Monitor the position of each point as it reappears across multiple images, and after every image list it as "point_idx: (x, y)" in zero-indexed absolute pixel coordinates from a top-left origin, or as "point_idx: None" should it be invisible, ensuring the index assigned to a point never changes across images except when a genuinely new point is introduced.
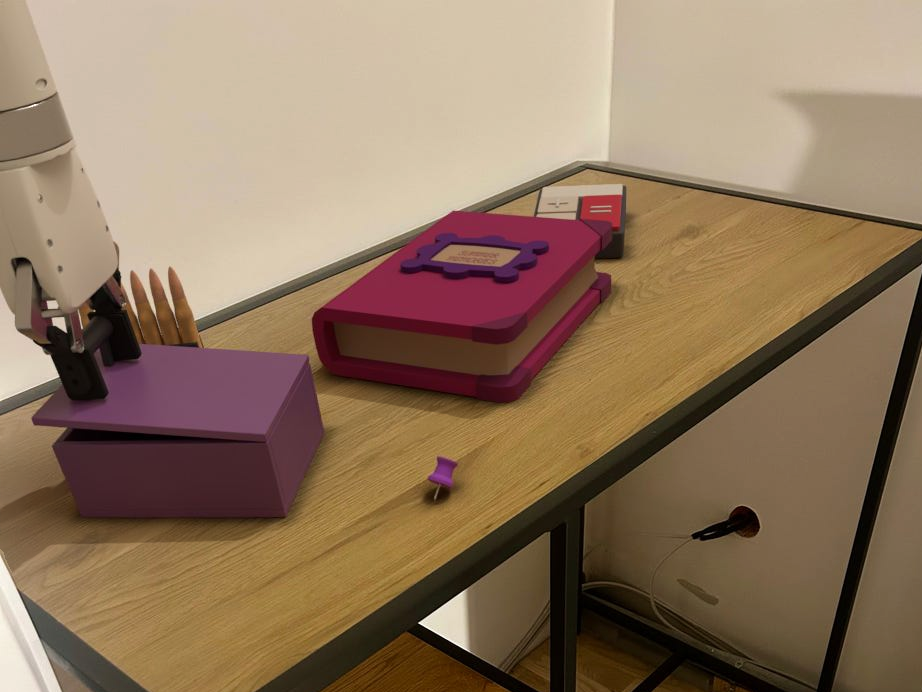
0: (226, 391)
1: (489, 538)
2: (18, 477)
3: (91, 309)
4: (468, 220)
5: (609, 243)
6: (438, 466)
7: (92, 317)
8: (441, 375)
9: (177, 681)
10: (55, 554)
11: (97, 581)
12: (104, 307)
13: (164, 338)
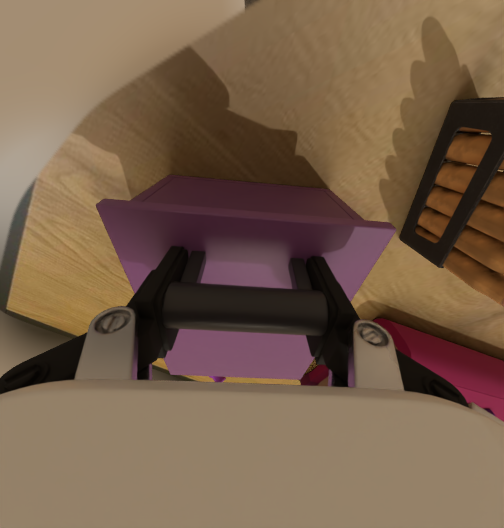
0: (231, 355)
1: (182, 376)
2: (257, 21)
3: (353, 324)
4: None
5: None
6: (216, 379)
7: (330, 317)
8: (327, 371)
9: (28, 294)
10: (105, 168)
11: (86, 223)
12: (331, 354)
13: (471, 237)
